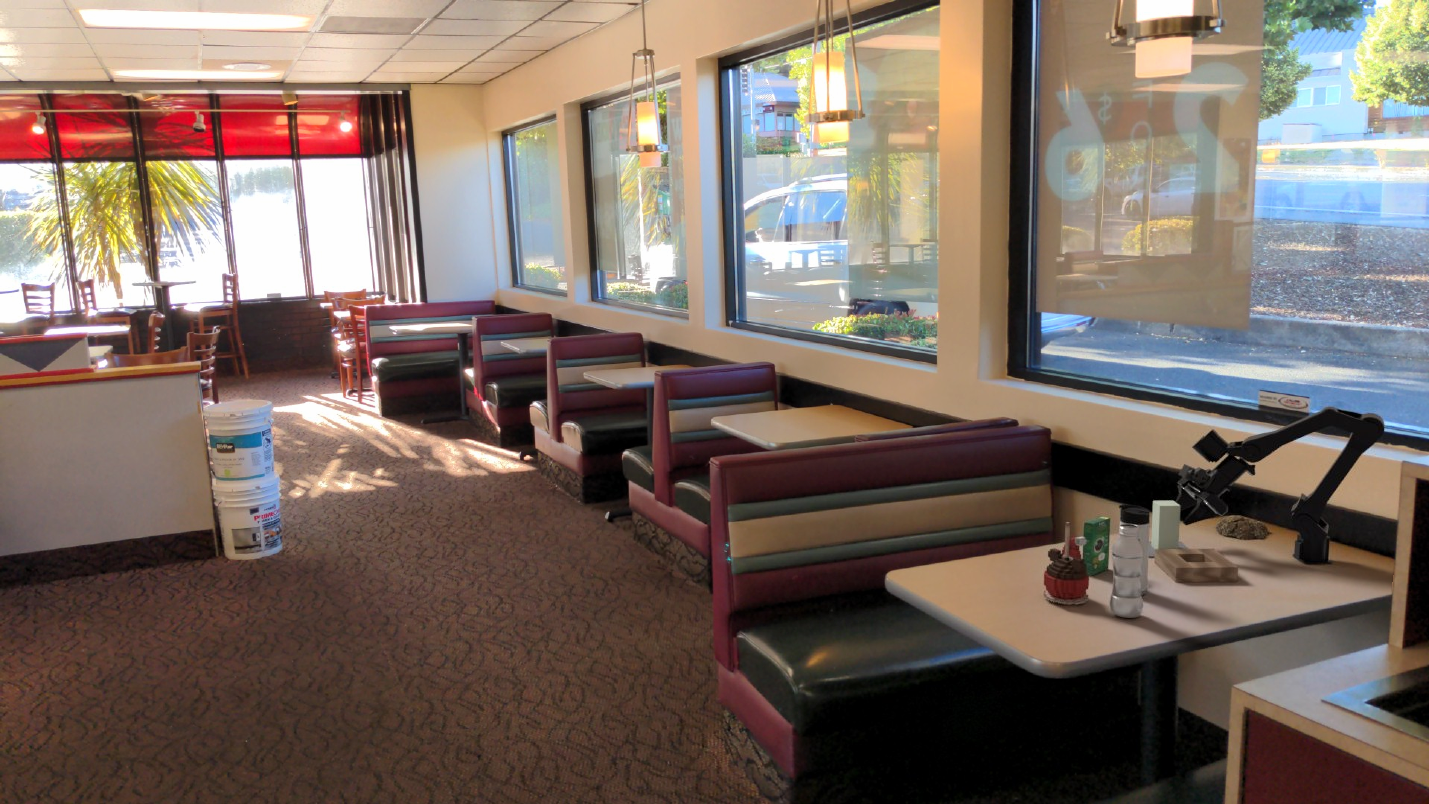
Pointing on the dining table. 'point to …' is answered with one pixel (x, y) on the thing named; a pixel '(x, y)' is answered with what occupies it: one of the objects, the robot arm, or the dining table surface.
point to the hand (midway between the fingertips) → (1177, 519)
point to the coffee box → (1096, 544)
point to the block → (1165, 525)
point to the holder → (1196, 565)
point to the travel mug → (1141, 519)
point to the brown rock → (1241, 528)
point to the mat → (1152, 550)
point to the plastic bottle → (1127, 573)
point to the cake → (1067, 572)
